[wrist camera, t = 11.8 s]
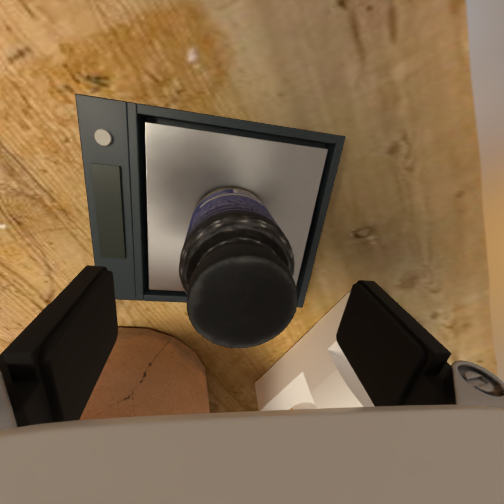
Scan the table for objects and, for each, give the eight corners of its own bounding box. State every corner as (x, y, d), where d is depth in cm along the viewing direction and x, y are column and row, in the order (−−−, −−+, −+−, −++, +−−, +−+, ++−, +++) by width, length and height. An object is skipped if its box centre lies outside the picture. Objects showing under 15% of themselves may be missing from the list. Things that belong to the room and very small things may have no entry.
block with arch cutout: (308, 409, 36) (344, 516, 26) (254, 383, 32) (270, 494, 22) (411, 321, 31) (503, 409, 21) (360, 280, 28) (441, 361, 18)
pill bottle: (175, 212, 20) (132, 289, 10) (243, 169, 19) (272, 204, 9) (220, 271, 22) (222, 381, 12) (281, 235, 22) (337, 319, 12)
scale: (111, 280, 24) (96, 300, 22) (95, 99, 19) (72, 92, 16) (294, 290, 27) (303, 309, 24) (329, 136, 22) (347, 136, 19)
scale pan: (150, 285, 23) (148, 289, 22) (147, 122, 18) (144, 121, 17) (291, 292, 25) (294, 296, 24) (324, 148, 20) (328, 148, 19)
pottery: (-24, 373, 27) (-252, 596, 14) (148, 266, 24) (68, 415, 11) (124, 463, 36) (70, 652, 23) (262, 391, 33) (291, 557, 20)
